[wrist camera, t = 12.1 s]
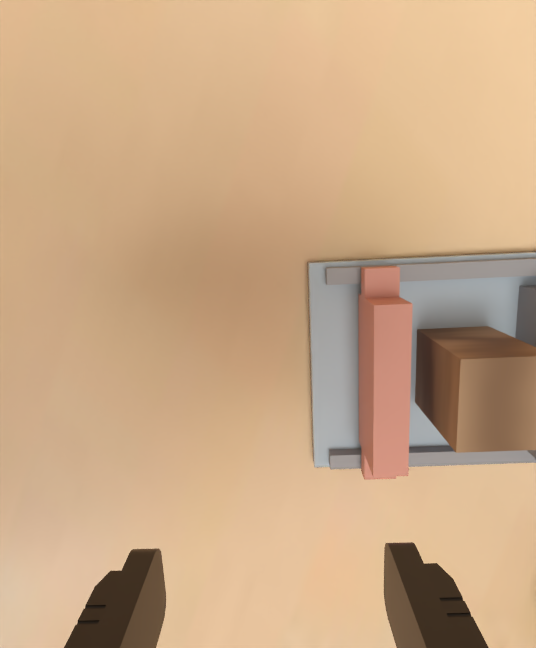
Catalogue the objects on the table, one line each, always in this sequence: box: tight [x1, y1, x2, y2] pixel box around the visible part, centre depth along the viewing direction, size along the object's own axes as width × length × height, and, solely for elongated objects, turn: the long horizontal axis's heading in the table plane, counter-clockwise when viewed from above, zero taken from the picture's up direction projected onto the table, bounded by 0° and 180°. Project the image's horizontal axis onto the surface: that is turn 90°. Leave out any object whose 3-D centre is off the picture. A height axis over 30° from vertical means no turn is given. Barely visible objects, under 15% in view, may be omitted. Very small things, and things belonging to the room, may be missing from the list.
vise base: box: [308, 252, 536, 469], centre depth 26 cm, size 16×14×6 cm
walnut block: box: [415, 326, 536, 453], centre depth 24 cm, size 4×5×6 cm
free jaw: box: [358, 266, 413, 479], centre depth 25 cm, size 2×13×4 cm, turn 3°
